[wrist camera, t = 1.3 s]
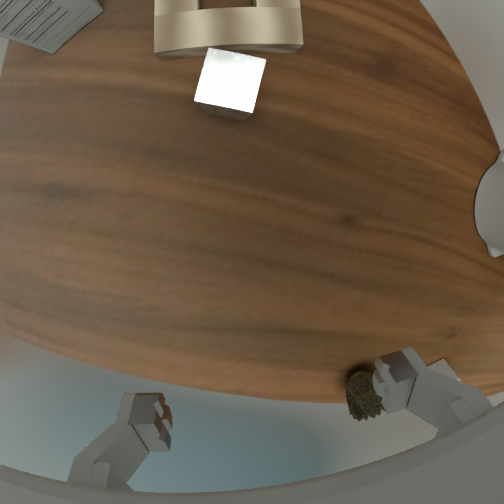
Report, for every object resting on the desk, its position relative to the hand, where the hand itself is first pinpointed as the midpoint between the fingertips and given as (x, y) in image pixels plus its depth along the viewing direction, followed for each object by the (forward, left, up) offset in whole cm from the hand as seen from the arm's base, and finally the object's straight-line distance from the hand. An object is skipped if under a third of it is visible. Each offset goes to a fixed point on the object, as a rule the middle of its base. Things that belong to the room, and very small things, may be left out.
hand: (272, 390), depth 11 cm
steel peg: (+1, -13, -30) cm, 32 cm away
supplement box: (+23, -30, -30) cm, 48 cm away
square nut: (+1, -27, -30) cm, 40 cm away
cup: (-18, +30, -30) cm, 46 cm away
